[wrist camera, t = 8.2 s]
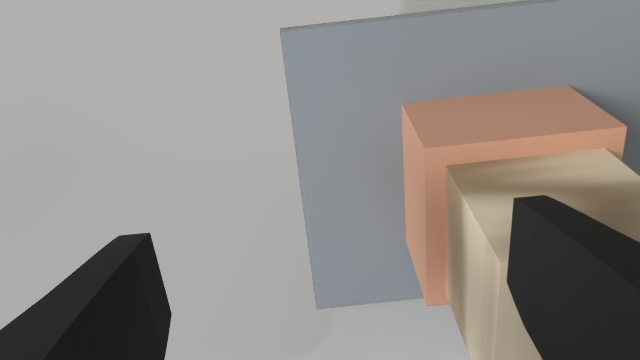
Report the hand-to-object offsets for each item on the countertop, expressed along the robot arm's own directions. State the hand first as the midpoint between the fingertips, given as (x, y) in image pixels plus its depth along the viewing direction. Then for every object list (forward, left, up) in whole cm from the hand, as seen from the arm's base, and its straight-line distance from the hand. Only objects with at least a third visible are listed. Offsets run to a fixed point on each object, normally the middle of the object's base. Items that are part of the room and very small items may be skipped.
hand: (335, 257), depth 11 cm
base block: (+6, -3, -10) cm, 12 cm away
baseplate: (+6, -3, -10) cm, 12 cm away
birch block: (+6, -3, -6) cm, 9 cm away
